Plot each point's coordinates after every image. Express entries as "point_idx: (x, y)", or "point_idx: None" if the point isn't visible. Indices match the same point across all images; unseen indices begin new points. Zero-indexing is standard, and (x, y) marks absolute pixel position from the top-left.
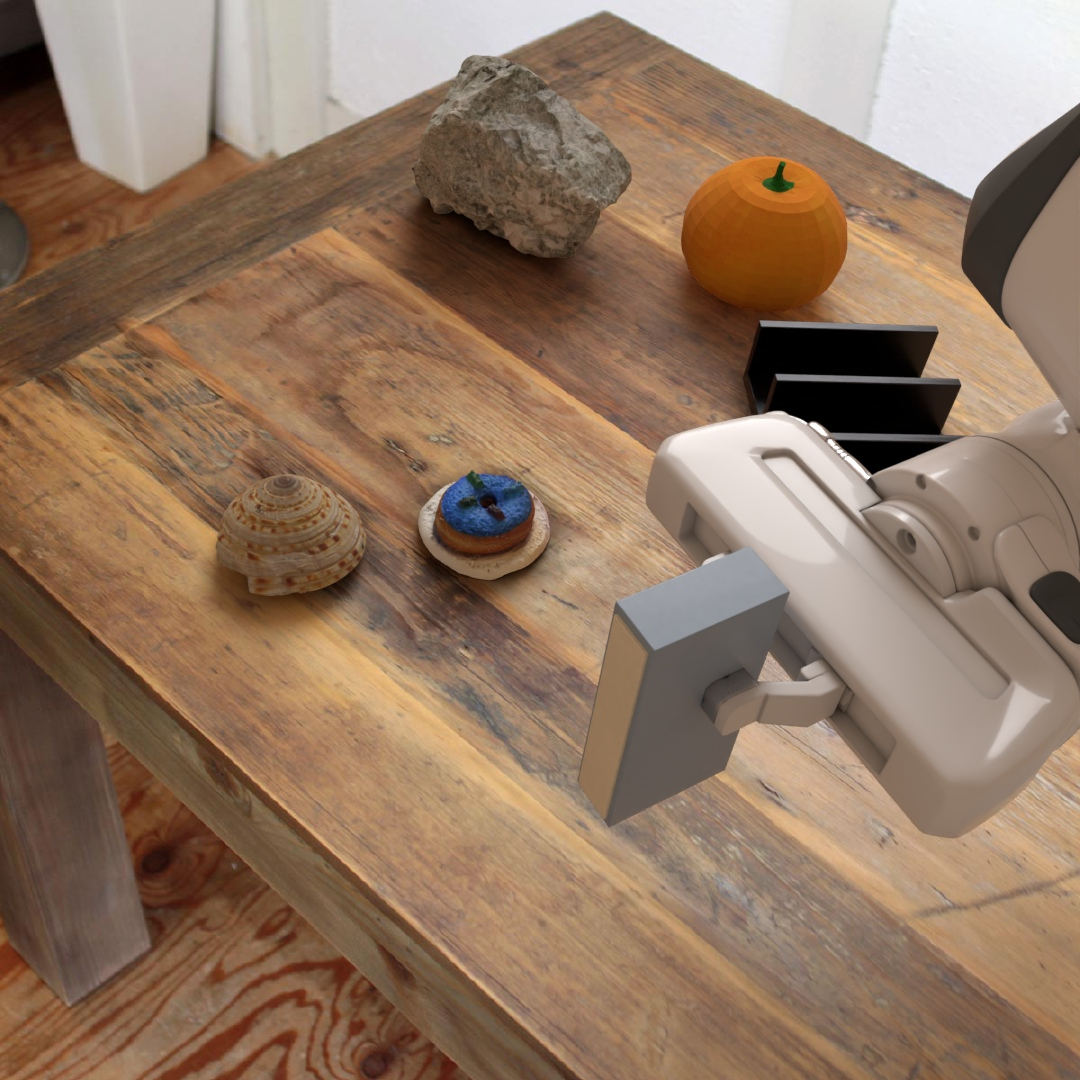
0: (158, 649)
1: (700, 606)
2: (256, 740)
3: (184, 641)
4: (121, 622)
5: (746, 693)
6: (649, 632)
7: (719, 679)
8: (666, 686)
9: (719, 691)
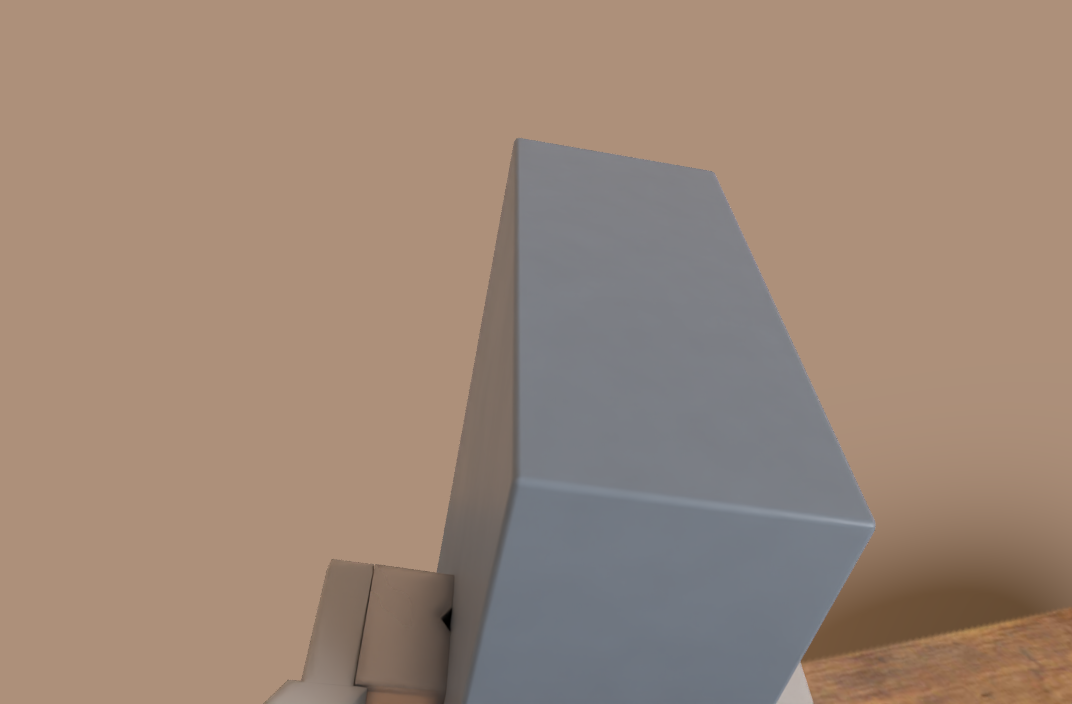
0: (1024, 654)
1: (608, 249)
2: (863, 687)
3: (1038, 685)
4: (1069, 637)
5: (351, 626)
6: (579, 155)
7: (450, 593)
8: (478, 368)
9: (413, 572)
